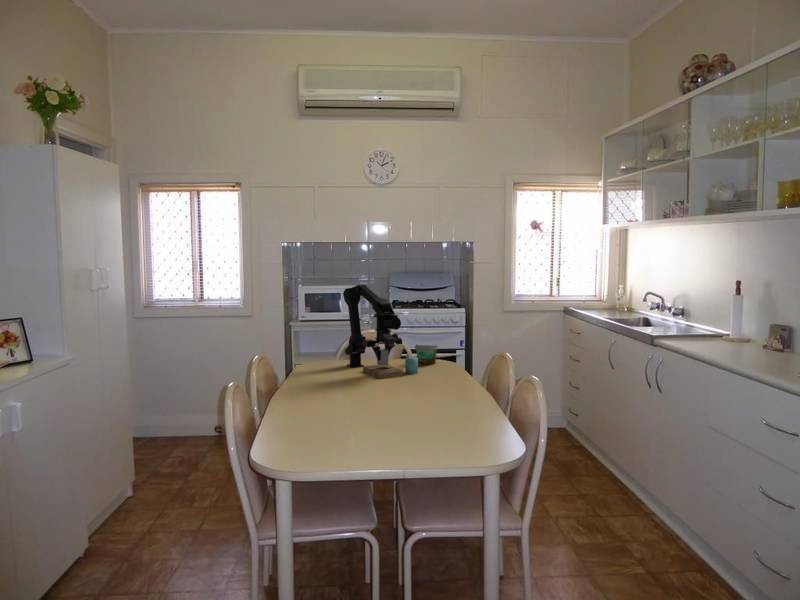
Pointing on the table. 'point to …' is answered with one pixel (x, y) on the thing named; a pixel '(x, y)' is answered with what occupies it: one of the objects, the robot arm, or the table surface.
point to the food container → (426, 354)
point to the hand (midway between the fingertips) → (382, 359)
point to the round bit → (411, 365)
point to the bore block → (383, 371)
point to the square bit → (383, 357)
